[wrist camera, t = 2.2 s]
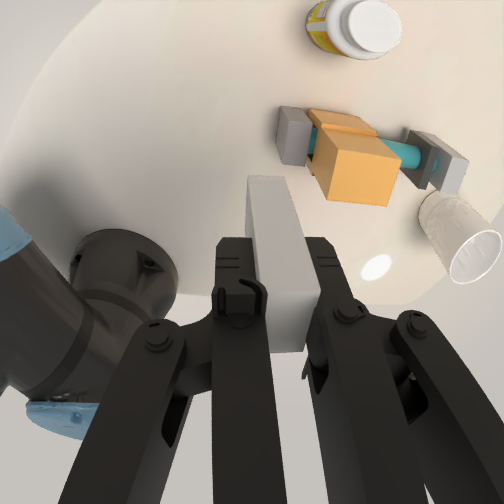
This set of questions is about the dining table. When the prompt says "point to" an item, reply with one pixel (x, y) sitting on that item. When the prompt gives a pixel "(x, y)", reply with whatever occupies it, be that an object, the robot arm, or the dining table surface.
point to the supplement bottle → (354, 28)
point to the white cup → (459, 236)
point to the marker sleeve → (351, 160)
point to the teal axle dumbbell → (412, 153)
